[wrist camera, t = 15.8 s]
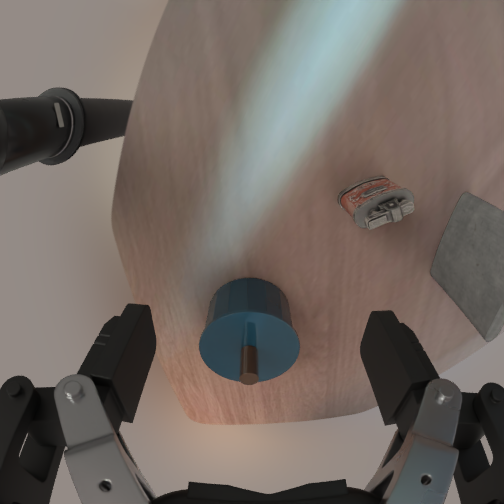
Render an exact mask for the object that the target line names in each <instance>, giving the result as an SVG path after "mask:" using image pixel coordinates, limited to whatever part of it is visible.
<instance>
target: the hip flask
mask: <svg viewBox="0 0 504 504" xmlns="http://www.w3.org/2000/svg"><path fill="white" fill-rule="evenodd" d="M430 273H431V276H432V277H433V278H434V279H435V280H436V282H437V283H438V284H439V285H440V286H441V287H442V288H443V289H444V291H445V292H446V293H447V294H448V295H449V296H450V298H451V299H452V300H453V301H454V302H455V303H456V305H457V306H458V307H459V308H460V309H461V311H462V312H463V313H464V314H465V316H466V317H467V318H468V319H469V320H470V322H471V323H472V324H473V325H474V327H475V328H476V329H477V331H478V332H479V333H480V334H481V336H482V337H483V338H484V340H485V341H486V342H489V341H492V340H493V339H494V338H495V337H496V336H497V335H498V334H499V332H500V331H501V329H502V327H503V325H504V211H502V210H501V209H499V208H497V207H495V206H493V205H492V204H490V203H488V202H486V201H484V200H482V199H480V198H478V197H476V196H475V195H473V194H471V193H468V192H465V193H463V194H462V196H461V197H460V199H459V201H458V203H457V205H456V207H455V209H454V211H453V213H452V215H451V217H450V220H449V222H448V224H447V227H446V229H445V231H444V234H443V236H442V239H441V241H440V244H439V247H438V249H437V252H436V255H435V258H434V261H433V264H432V268H431V272H430Z"/></svg>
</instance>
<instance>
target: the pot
mask: <svg viewBox="0 0 504 504" xmlns="http://www.w3.org/2000/svg"><path fill="white" fill-rule="evenodd" d="M243 309H254V310H262V311H267V312H270V313H273V314H275V315H278V316H280V317H281V318H283V319H284V320H286V321H287V322H288V323H289V324H290V325H291V326H292V320H291V315H290V309H289V304H288V300H287V298H286V296H285V295H284V293H283V292H282V291H281V290H280V289H279V288H278V287H276V286H275V285H273V284H272V283H270V282H268V281H265V280H262V279H257V278H241V279H237V280H233V281H231V282H228V283H227V284H225V285H223V286H222V287H221V288H220V289H218V290H217V292H216V293H215V294H214V296H213V298H212V300H211V301H210V305H209V310H208V315H207V320H206V325H205V327H206V326H207V325H208V324H209V323H210V322H211V321H212V320H214V319H215V318H217V317H219V316H221V315H223V314H225V313H228V312H231V311H236V310H243ZM292 327H293V326H292Z"/></svg>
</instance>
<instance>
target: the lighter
mask: <svg viewBox="0 0 504 504" xmlns="http://www.w3.org/2000/svg"><path fill="white" fill-rule="evenodd" d="M338 203H339V205H340V206H341V207H342V208H343V209H344V210H346V211H347V212H348V213H349V214H350V215H351V216H352V217H353V219H354V221H355V223H356V224H357V225H358V226H359V227H361V228H368V229H374V228H376V227H379V226H381V225H383V224H386V223H388V222H398V221H401V220H402V219H403V216H404V215H406V214H409V213H411V212H413V211H414V196H413V193H412V192H411V191H410V190H408V189H406V188H401V187H400V186H398V185H396V184H394V183H393V182H391V181H390V180H389V179H388V178H386V177H384V176H377V177H372V178H368V179H365V180H362V181H359V182H357V183H355V184H353V185H351V186H350V187H348V188H346V189H345V190H343V191H342V192H341V193H340V194H339V196H338Z"/></svg>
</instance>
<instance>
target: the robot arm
mask: <svg viewBox="0 0 504 504" xmlns="http://www.w3.org/2000/svg"><path fill="white" fill-rule="evenodd" d="M74 130H75V116H74V112H73V109H72V107H71V105H70V104H69V102H68V101H67V100H66V99H64V98H62V97H60V96H48V97H27V98H13V99H2V100H0V175H3V174H5V173H8V172H10V171H13V170H16V169H18V168H21V167H24V166H26V165H29V164H32V163H35V162H38V161H41V160H43V159H46V158H52V157H55V156H58V155H59V154H61V153H62V152H64V151H65V149H66V148H67V147H68V146H69V144H70V142H71V140H72V138H73V134H74ZM155 351H156V335H155V330H154V326H153V320H152V315H151V310H150V307H149V306H148V305H141V304H128V305H127V306H126V308H125V309H124V311H123V313H122V314H121V316H114V317H113V318H111V319H110V320H109V321H108V322H107V323H105V324H104V326H103V328H102V330H101V331H100V333H99V336H98V337H97V338H96V340H95V342H94V344H93V345H92V347H91V349H90V351H89V352H88V354H87V356H86V358H85V360H84V362H83V363H82V365H81V367H80V369H79V371H78V373H77V374H75V375H70V376H67V377H65V378H63V379H62V380H61V381H60V382H59V383H58V384H57V386H56V387H46V388H45V387H44V388H35V387H34V385H33V384H32V382H31V381H30V380H29V379H28V378H27V377H24V376H15V377H12V378H10V379H8V380H7V381H6V382H5V383H4V384H3V385H2V387H1V389H0V504H49V502H50V497H51V493H52V490H53V486H54V482H55V479H56V475H57V471H58V468H59V465H60V461H61V458H62V455H63V451H64V448H65V446H67V447H68V450H65V451H64V457H65V460H66V464H67V466H68V469H69V472H70V475H71V478H72V480H73V483H74V486H75V488H76V490H77V493H78V496H79V498H80V500H81V503H82V504H444V502H445V499H446V496H447V493H448V490H449V487H450V484H451V481H452V477H453V475H454V479H455V482H456V486H457V490H458V493H459V497H460V501H461V504H504V388H503V387H502V386H500V385H498V384H496V383H487V384H485V385H484V386H483V387H482V388H481V390H480V391H479V392H478V393H466V392H461V391H460V389H459V388H458V387H457V386H456V385H455V384H454V383H452V382H451V381H449V380H447V379H440V377H439V375H438V374H437V372H436V370H435V368H434V366H433V365H432V363H431V361H430V359H429V358H428V356H427V354H426V352H425V351H423V347H422V345H421V344H420V343H419V340H418V339H417V337H416V335H415V334H414V332H413V331H412V330H411V329H410V328H409V327H407V326H406V325H405V324H404V323H400V322H399V321H398V319H397V317H396V316H395V314H394V312H393V311H391V310H388V311H372V312H371V314H370V316H369V319H368V322H367V326H366V329H365V332H364V335H363V338H362V341H361V345H360V354H361V358H362V361H363V364H364V367H365V369H366V372H367V375H368V378H369V380H370V383H371V386H372V389H373V392H374V394H375V397H376V400H377V403H378V406H379V409H380V412H381V415H382V418H383V421H384V424H385V425H391V424H397V427H398V429H397V431H396V432H395V434H394V437H393V439H392V441H391V443H390V445H389V447H388V450H387V452H386V454H385V456H384V458H383V460H382V462H381V464H380V466H379V468H378V470H377V472H376V474H375V475H374V477H373V478H372V479H371V481H370V482H369V483H368V485H367V486H366V488H365V489H364V490H361V489H357V488H352V487H347V485H346V480H345V479H342V480H336V481H328V482H319V483H309V484H306V485H303V486H299V487H296V488H292V489H289V490H285V491H281V492H278V493H273V494H264V493H259V492H254V491H250V490H246V489H242V488H237V487H233V486H230V485H220V484H207V483H197V482H189V485H188V489H186V490H179V491H174V492H171V493H167V494H164V495H162V496H160V497H157V496H156V495H155V493H154V492H153V490H152V488H151V487H150V485H149V484H148V482H147V481H146V479H145V478H144V476H143V475H142V473H141V471H140V470H139V468H138V466H137V464H136V462H135V460H134V458H133V457H132V455H131V453H130V451H129V449H128V447H127V445H126V443H125V441H124V439H123V437H122V435H121V433H120V431H119V428H120V425H121V422H122V421H124V422H129V423H133V420H134V416H135V413H136V410H137V407H138V403H139V400H140V397H141V394H142V391H143V387H144V384H145V382H146V379H147V375H148V372H149V370H150V367H151V363H152V361H153V357H154V354H155ZM27 433H28V436H27V439H26V441H25V444H24V446H23V449H22V452H21V455H20V457H19V453H20V450H21V448H22V445H23V442H24V439H25V437H26V435H27ZM484 435H485V436H486V438H487V440H488V443H489V446H490V448H491V451H492V454H493V462H492V464H491V466H490V465H489V462H488V459H487V456H486V454H485V451H484V448H483V446H482V443H481V441H480V439H481V438H482V437H483V436H484Z"/></svg>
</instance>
